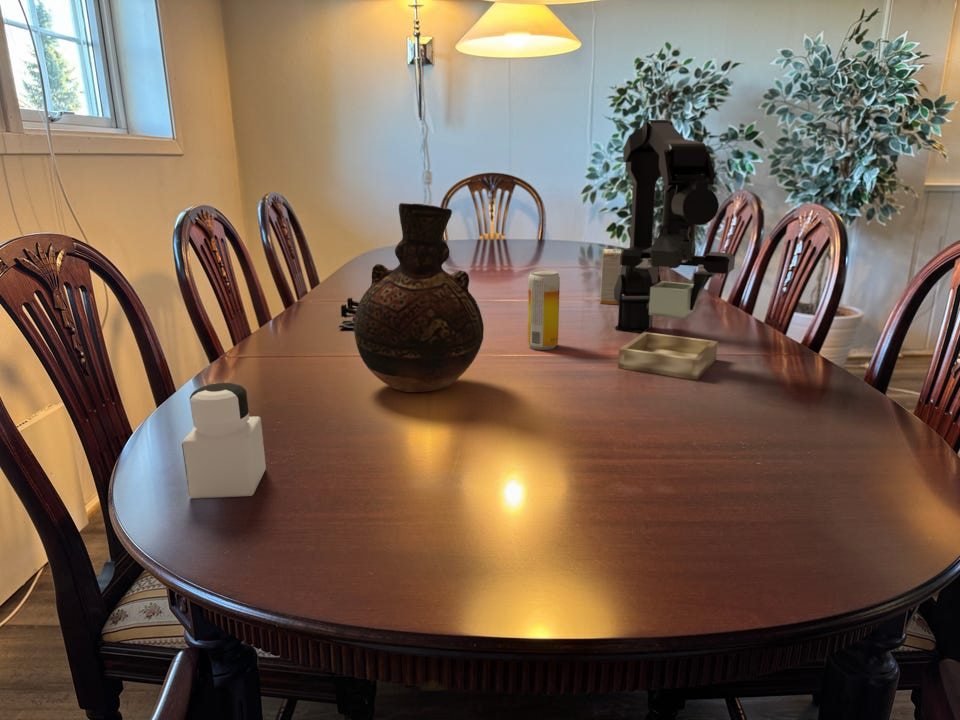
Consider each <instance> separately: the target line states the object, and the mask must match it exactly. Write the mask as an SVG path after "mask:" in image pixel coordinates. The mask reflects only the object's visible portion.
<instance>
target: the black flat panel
mask: <svg viewBox="0 0 960 720" xmlns="http://www.w3.org/2000/svg"><path fill="white" fill-rule="evenodd" d="M346 302H347V304H342V305H341V306H340V316H341V317H342V318H343V317H344V318H345V317H346V316H347V315H348V314H350V315H353V317H352V320H342V322H341V323H340V325H338V328H348V329H349V328H350V329H351V328H352V329H354V318H355V313H356V310H357V309H353V308H354V307H356V308H357V307H358V304H359V302H358V301H354V300H353V297H348V298H347V299H346ZM351 308H352V309H351Z"/></svg>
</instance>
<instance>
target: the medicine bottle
mask: <svg viewBox="0 0 960 720" xmlns="http://www.w3.org/2000/svg"><path fill="white" fill-rule="evenodd" d="M248 401H249V400H248V393H247V390H246V388H245V387H244V386H242V385H239V384H236V383H232V382H219V383H218V382H217V383H211V384H206V385H204V386H202V387H199V388H197V389H196V390H194V391H193V392H192V393H191V395H190V396H189V403H190V409H191V417H192V424H193V428H192V429H191V430H190V432H189V433H188V434H187V435H186V437H185V438H184V439H183V440H182V441H181V446H182V447H181V448H182V453H183V454H182V455H183V462H184V469H185V475H186V482H187V488H188V495H189V498H190V499H211V498H213V499H214V498H216V499H217V498H231V497H232V498H233V497H236V498H237V497H252V496H254V494H255V492H256V490H257V488H258V485H259V484H260V482H261V479H262V478H263V476H264V473H265V471H266V468H267V467H266V466H267V465H266V458H265V457H266V455H265V449H264V438H263V437H264V436H263V428H262V419H261V417H260V416H250V412H249V404H248V403H249V402H248Z"/></svg>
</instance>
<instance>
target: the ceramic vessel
mask: <svg viewBox="0 0 960 720" xmlns="http://www.w3.org/2000/svg"><path fill="white" fill-rule="evenodd" d="M398 214H399V215H398V216H399V222H400V227H401V233H402V237H401V238H402V239H401V240H400V241H399V242H398V243H397V245H396V247H395V248H394V249H395V250H394V253H395V257H396V258H397V260H398V261H399V264H398V265H397V266H396V268H393V269H388V267H386V266H385V265H383V264H382V263H376V264H375V265H374V266H373V267H372V269H371V270H372V271H371V284H370V286H369V287H368V289H367V290H366V291H365V292H364V294H363V295H362V297H361V299H360V301H359V302H358V303H359V304H358V307H356V309H355V310H356V313H355V318H354V328H353V333H354V339H355V344H356V347H357V348H356V349H357V350H358V353H359V356H360V358H361V359H362V361H363V363H364V364H365V366H366V367H367V369H368V370H369V371H370V372H371V373H372V374H373V376H375V377H376V378H378V379H377V380H380V381H381V382H383V384H385V385H387V386H389V387H391V388H393V389H395V390H397V391H400V392H404V393H406V392H408V393H409V392H410V393H422V392H423V393H424V392H431V391H435V390H440V389H443V388H444V389H445V388H446V387H448V386H450V385H451V384H453V383H454V382H456V381H457V380H458V379H459V378H460V377H461V376H462V375H463V374H464V373H465V372H467V370H468V369H469V368H470V366H471V365H472V364H473V362H474V361H475V359H476V358H477V355H478V353H479V351H480V350H481V346H482V344H483V341H484V329H485V328H484V322H483V321H484V320H483V317H482V313H481V310H480V307H479V305H478V303H477V301H476V299H475V298H474V296H473V295H472V293H470V291H469V283H470V277H469V274H468V273H467V272H466V271H463V270H457V271H455V272H453V273H451V274H450V273H448V272H447V271H445V270H444V268H443V264H444V263H446V261H447V260H448V258H449V257H450V248H449V246H448V244H447V243H445V241H443V237H444V233H445V230H446V229H447V226H448V224H449V221H450V219H451V217H452V214H453V211H452V209H450V208H444V207H440V206H436V205H432V204H431V205H430V204H429V205H428V204H424V203H407V202H406V203H405V202H400V203H399V205H398Z"/></svg>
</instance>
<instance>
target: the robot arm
mask: <svg viewBox="0 0 960 720" xmlns="http://www.w3.org/2000/svg"><path fill="white" fill-rule="evenodd" d="M622 152H623V154H622V157H623V162H624V163H625V172H626V173H627V174H626V175H628V177H629V179H630V181H631V183H632V192H631V193H632V194H631V195H632V196H631V214H630V215H631V216H630V234H629V235H630V236H629V240H630V241H629V247H627V248H625V249H623V250H621V255H620V265H622V266H621V274H620V275H619V276H618V279H617V282H616V285H615V288H614V299H615V300H616V301H617V302H618V315H617V317H618V319H617V322H618V323H617V325H615V327H614V329H615V330H620V331H629V332H635V333H643V332H647V331H649V329H651V328H652V327H653V323H654V322H653V319H654V315H649V301H650V287H652V286H654V285H655V284H657V283H659V282H661V281H662V280H661V275H660V267H665V268H668V269H677V268H679V267H680V266H685V267H687V266H688V267H689V266H690V267H697V270H698V271H696V272H694V273H693V284H694V285H693V290H692V296H691V301H690V310H693V309H694V307H695V308H696V306H697V303H698V301H699V298H700V297H701V295H702V292H703V291H704V288H705V286H706V285H707V284H708V281H709V280H710V278H713V277H714V276H716V275H718V274H720V275H721V274H723V275H726V274H729V273H730V272H732V271H733V270H734V269H735V262H736V259H735V258H736V257H735V255H734V254H733V253H732V252H721V251H720V252H719V251H710V252H709V253H707V254H706V255H696V233H697V230H698V226H703V225H706V224H709V223H710V222H711V221H713V220H714V218H715V217H716V216H717V214H718V211H719V208H720V207H719V206H720V203H719V200H718V196H717V195H716V193H714V192H713V191H712V190H711V189H709V186H715V185H714V184H715V177H716V172H715V168H714V165H713V161H712V157H711V154H710V150H708V147H707V145H706V144H705V143H703V142H702V141H698V140H691V139H686V138H685V137H684V136H682V134H681V133H679V132H678V130H676V128H675V127H674V125H673V122H672V121H671V120H669V119H648V120H645V121H644V122H643V124H642V126H641V127H640V128H639V129H637V130H635V131H634V132H632V133H631V134H629V135H628V138H627V140H626V141H625V144H624V147H623V151H622ZM660 178H662V182H663V185H664V187H663V190H664V191H663V206H662V207H663V208H662V218H661V219H662V220H661V225H659V227H660V228H659V234H658V236H657V238H656V239H655V240H654V242H653V237H654V236H653V234H654V233H653V232H654V215H655V214H654V213H655V199H656V198H655V197H656V184H657V181H658V180H659V179H660ZM695 305H696V306H695Z"/></svg>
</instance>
